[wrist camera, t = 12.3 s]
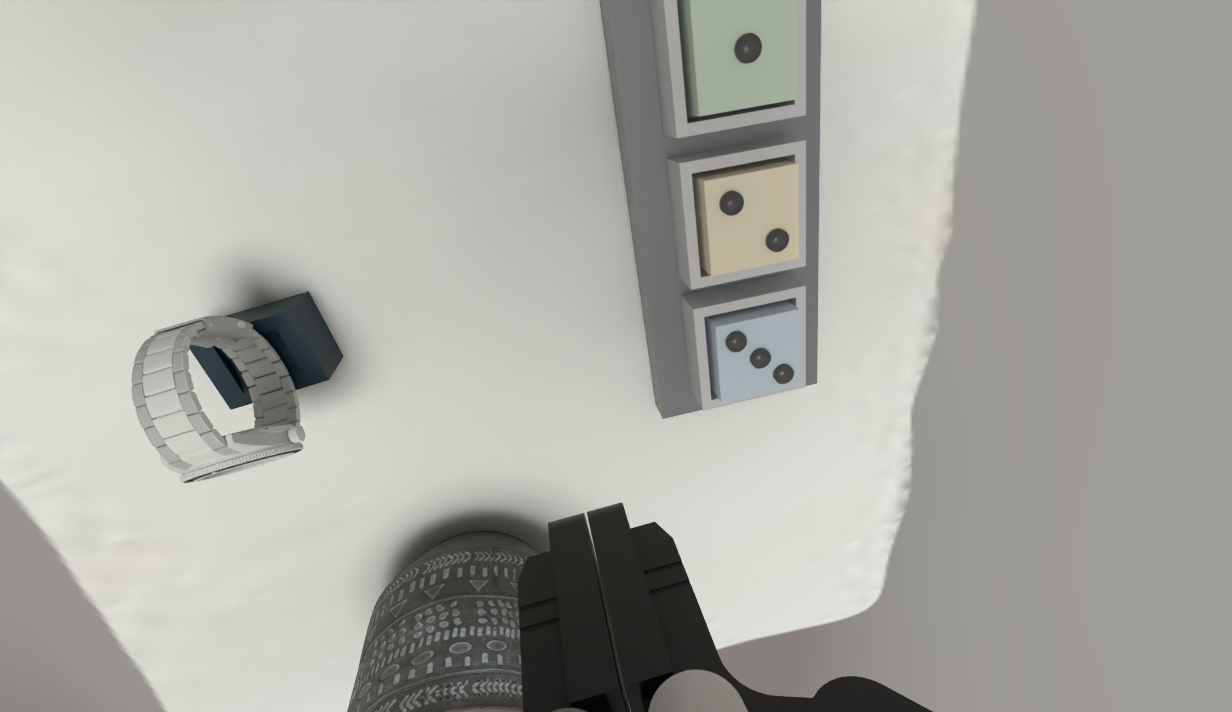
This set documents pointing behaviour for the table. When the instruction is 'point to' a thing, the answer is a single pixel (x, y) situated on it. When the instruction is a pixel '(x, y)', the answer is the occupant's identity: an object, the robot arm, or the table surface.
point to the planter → (447, 632)
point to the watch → (232, 384)
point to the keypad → (664, 200)
